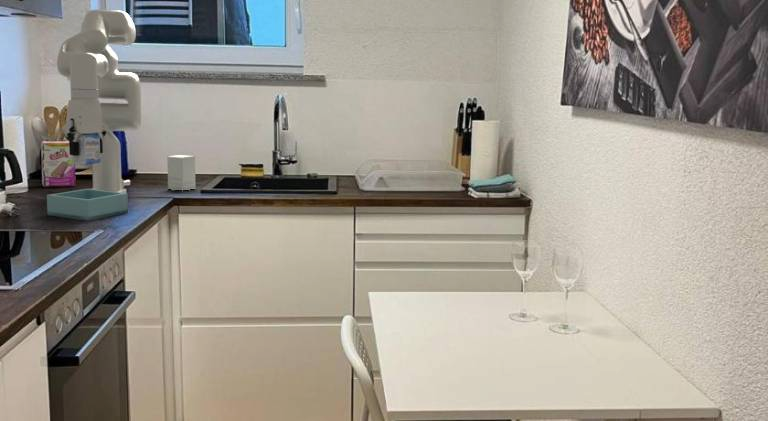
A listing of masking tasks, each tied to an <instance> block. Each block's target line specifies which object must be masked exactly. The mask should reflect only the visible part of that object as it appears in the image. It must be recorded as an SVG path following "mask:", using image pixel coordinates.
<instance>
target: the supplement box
mask: <svg viewBox="0 0 768 421" xmlns="http://www.w3.org/2000/svg"><path fill="white" fill-rule="evenodd" d="M168 189H171V190H170V191H175V190H182V191H181V192H184V191H183V190H189V191H191V190H190V189H195V190H196V156H195V155H184V154H183V155H182V154H176V155H175V154H174V155H170V156H168V155H167V190H168Z"/></svg>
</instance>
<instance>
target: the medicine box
mask: <svg viewBox="0 0 768 421" xmlns="http://www.w3.org/2000/svg"><path fill="white" fill-rule="evenodd" d="M73 136H75V135H73ZM77 142H79V156H74V155H72V160H73V164H75V165H82V166H89V165H92V164H94V163H100V136H99V135H98V134H80V136H79V138H78V140H77Z"/></svg>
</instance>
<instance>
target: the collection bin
mask: <svg viewBox="0 0 768 421" xmlns="http://www.w3.org/2000/svg"><path fill="white" fill-rule="evenodd" d="M128 198H129V196H128V192H126V193H120V192H112V191H103V190H94V189H93V188H85V189H84V188H83V189H77V190H70V191H64V192H59V193H51V194H46V208H47V216H52V217H58V218H66V219H75V220H82V221H88V222H89V221H93V220H99V219H104V218H108V217H114V216H118V215H124V214H128V213H129V204H128V203H129V202H128V201H129V200H128Z"/></svg>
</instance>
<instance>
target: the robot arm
mask: <svg viewBox="0 0 768 421" xmlns="http://www.w3.org/2000/svg"><path fill="white" fill-rule="evenodd" d="M135 26H136V25H135V23H134V22H133V20H132V18H131V17H130V15H129V14H128V13H127V12H125V11H122V10H113V9H112V10H111V9H91V10H89V11H87V12H86V14H85V15H84V18H83V21H82V23H81V29H80V32H78V33H77V34H75V35H73V36H71V37H69V38H67V39H66V40H64V41H63V42H62V43H61V45H60V46H59V47H60V48H59V51H58V54H57V58H56V59H57V60H56V67H57V71H58V72H59V74H60V76H63V77H65V78H69V81H70V82H69V83H70V86H69V87H70V99H69V100H68V103H67V107H66V108H67V109H66V122H65V124H63V125H62V126H61V130H62V132H63V134H64V135H63V136H64V137H65V138H66V140H67V141H66V142H69V151H70V155H74V156H79V142H77V140H78V138H79V136H80V135H82V134H98V135H99V136H100V163H94V164H91V166H92V168H91V170H92V189H94V190H103V191H112V192H120V193H127V189H126V188H125V186H130V185H131V180H130V179H126V180H124V179H123V178H122V157H121V156H122V155H121V150H122V148H121V142H120V139H119V138H118V137H117V135H115V134H114V133H113V132H134V131H138V130H139V129H140V127H141V123H142V93H141V91H142V90H141V89H142V87H141V81H140V78H139V76H138V75H137V74H136V73H133V72H127V71H125V72H123V71H119V58H118V56H117V54H116V52H114V51H113V49H112V48H111V46H109V45H116V46H119V45H120V46H130V45H133V44H134V42H135V41H136V37H137V36H136V34H137V33H136V32H137V30H136V27H135ZM99 99H101V100H118V101H120V100H121V101H126V102H127V103H119V102H116V103H115V102H101V101H100V100H99ZM73 135H75V136H73Z"/></svg>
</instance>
